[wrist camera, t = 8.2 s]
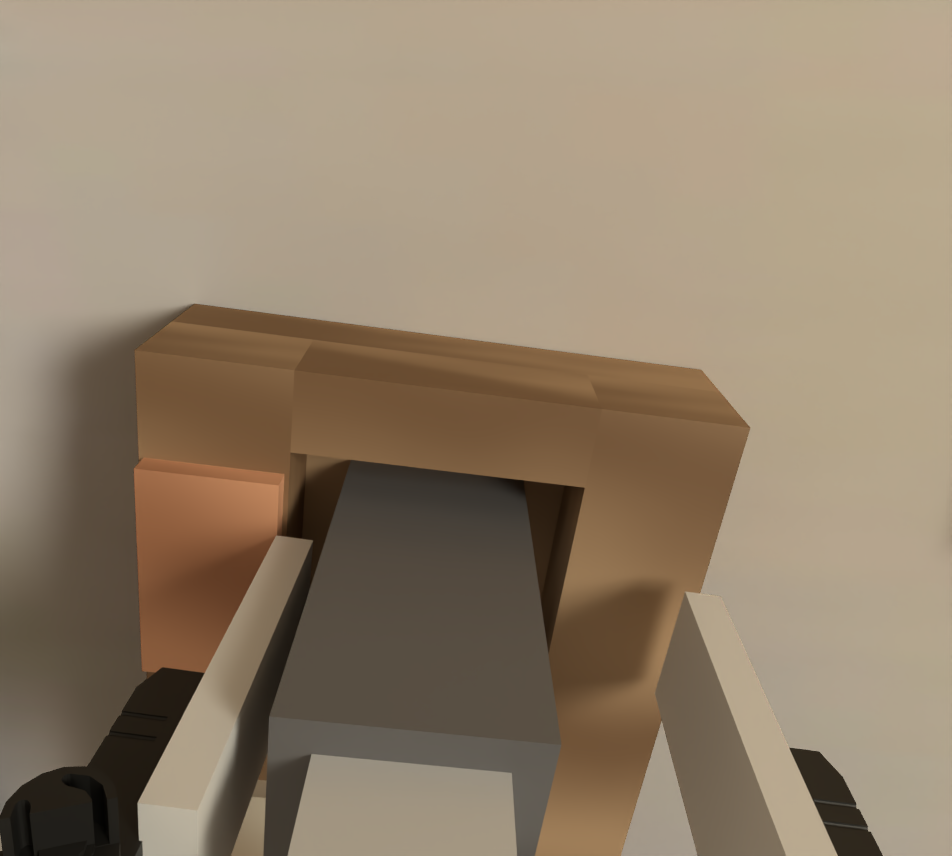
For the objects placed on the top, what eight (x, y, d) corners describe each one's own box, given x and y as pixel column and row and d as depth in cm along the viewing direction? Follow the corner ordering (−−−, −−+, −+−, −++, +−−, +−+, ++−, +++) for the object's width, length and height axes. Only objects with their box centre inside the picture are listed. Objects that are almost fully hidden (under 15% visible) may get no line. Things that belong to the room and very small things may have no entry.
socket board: (564, 880, 26) (581, 1012, 22) (197, 848, 25) (150, 979, 21) (701, 370, 19) (758, 437, 15) (195, 303, 18) (123, 357, 14)
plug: (497, 619, 20) (524, 1083, 10) (339, 602, 19) (223, 1062, 10) (523, 479, 18) (581, 880, 9) (351, 458, 18) (227, 850, 9)
